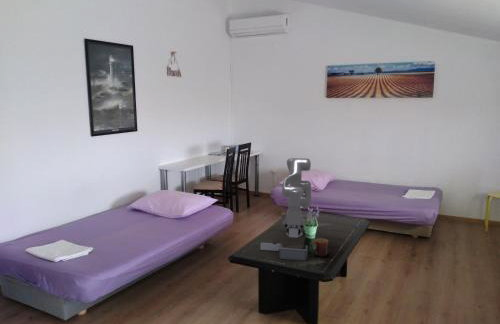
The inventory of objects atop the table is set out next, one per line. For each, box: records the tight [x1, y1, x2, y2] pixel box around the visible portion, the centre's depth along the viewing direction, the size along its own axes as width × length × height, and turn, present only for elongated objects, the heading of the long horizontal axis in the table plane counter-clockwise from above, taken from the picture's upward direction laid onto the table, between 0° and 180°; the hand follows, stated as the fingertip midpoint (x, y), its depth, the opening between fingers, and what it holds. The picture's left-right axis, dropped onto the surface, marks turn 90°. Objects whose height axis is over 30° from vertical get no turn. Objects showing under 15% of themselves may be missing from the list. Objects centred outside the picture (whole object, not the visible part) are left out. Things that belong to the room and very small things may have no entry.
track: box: [258, 248, 279, 253], centre depth 276 cm, size 3×14×1 cm, turn 80°
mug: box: [310, 237, 329, 258], centre depth 266 cm, size 12×9×10 cm
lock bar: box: [260, 241, 281, 252], centre depth 275 cm, size 2×14×6 cm, turn 80°
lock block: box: [288, 225, 299, 239], centre depth 264 cm, size 8×6×6 cm
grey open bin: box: [278, 243, 308, 261], centre depth 265 cm, size 12×18×7 cm, turn 80°
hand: (293, 233), depth 264 cm, fingers closed on lock block, 6 cm apart
